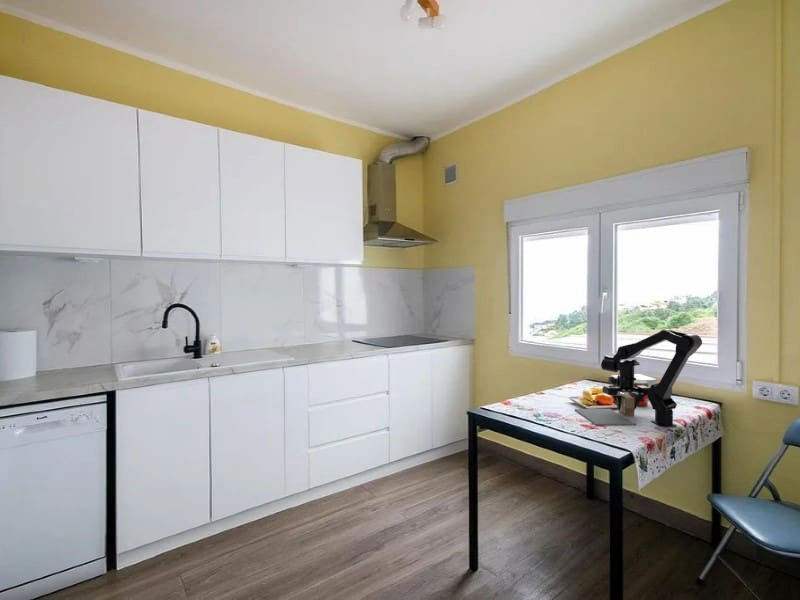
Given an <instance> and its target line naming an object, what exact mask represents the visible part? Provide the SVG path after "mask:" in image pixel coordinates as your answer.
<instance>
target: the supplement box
mask: <svg viewBox="0 0 800 600" xmlns="http://www.w3.org/2000/svg"><path fill="white" fill-rule="evenodd" d="M617 376H618V374H617V375H616V374H614V375H610V376H609V377H614V378H615V379H617ZM634 377H635V378H636V379H638V380H644V381H647V382H648V387H649V388H650V387H651V385H652V384H656V383H658V380H657V378H654V377H651V376H647V375H644V374H641V373H636V374H635V373H634ZM609 386H613V384H609ZM615 388H619V387H615ZM622 393H624V394H627V395H629V392H622Z"/></svg>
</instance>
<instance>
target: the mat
mask: <svg viewBox="0 0 800 600" xmlns="http://www.w3.org/2000/svg"><path fill="white" fill-rule="evenodd" d="M574 411H575V412H576V413H578V414H580V415H581V416H582V417H583V418H585V419H587V420H588V421H589V422H590V423H592V424H593V425H595V426H636V425H637V424H636V423H635V422H633V420H630V419H629V418H627V417H626V416H624V415H623V414H621V413H619V412H616V411H614V410H613V409H611V408H574Z"/></svg>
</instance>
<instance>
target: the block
mask: <svg viewBox="0 0 800 600" xmlns="http://www.w3.org/2000/svg"><path fill="white" fill-rule="evenodd" d="M620 395H621V396H622V398H621V408H620V410H618V414H620V415H622V416H623V417H635V410H634V398H633V397H631V396H629V395H627V394H620Z"/></svg>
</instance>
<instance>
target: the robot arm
mask: <svg viewBox="0 0 800 600" xmlns="http://www.w3.org/2000/svg"><path fill="white" fill-rule="evenodd" d="M665 341H666V342H669V343H671V344H672V345H673V344H674V345H675V354H673V355H674V356H673V357H672V359H671V361H670V362H669V364H668V365H667V366H668V367H667V368H666V370H665V372H664V374H663V376H662V377H661V379H660V381H659V382H657V383H656V384H652V385H651V387H650V388H649V387H646V386H644V385H638V386H635V387H634V380H636V378H635V377H634V374H635V366H640V365H641V363H640V362H638V361H637V359H635V358H636V357H637V356H639V355H641V353H642V352H644V351H645V350H647V349H650V348H652V347H655V346H657V345H658V344H661V343H663V342H665ZM702 345H703V340H702V338H701V336H699V335H698V334H696V333H689V334H688V333H686V332H681V331H677V330H676V331H675V330H673V329H670V328H667V329H661V330H660V331H659V332H656V333H654V334H651V335H649V336H648V337H646V338H643V339H641V340H639V341H637V342H635V343H630V344H629V343H628V344H625V345H622V346H619V347H618V348H617V351H616V353H615V355H614V356H610V355H604V356H603V359H602V361H601V363H600V367H601V369H602V370H603V371H607V372H613V373H619V375H618V374H617V375H618V376H617V379H615V378H614V377H610V376H609V377H608V384H609V385H603V386H602V389H601V390H602V391H601V392H602V393H604V394H606V395H609V396H612V398H613V400H614V402H615V404H616V407H617V409H618V411H619V410H620V408H621V398H622V396H621V395H620V392H631V393H632V396H633V398H634V411H635V410H636V408H637V407H638V406H637V405H638V404H639V402H640V401H641V399H642V398H643V397H645V395H648V396H647V398H648V402H650V404H651V408H652V410H654V419H652V420H651V422H652V423H653V424H655V425H657V426H659V427H677V426H678V425H677V424H675V423H674V411H673V410H675V409H676V408H677V405H678V404H677V402H675V401H674V399H673V398H672V395H673V386H674V384H675V382H676V381H677V379H678V378H679V375H680V374H681V373H682V371H683V369H684V367H685V365H686V363H687V361H688V360H689V358H690V357H691V356H693V355H694V354H695V353H696V352H697V351H698V350H699V349H700V348H701V346H702ZM630 359H632V360H630ZM623 360H624V361H623ZM610 384H613V386H610ZM615 387H619V388H615ZM643 394H644V395H643Z"/></svg>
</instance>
